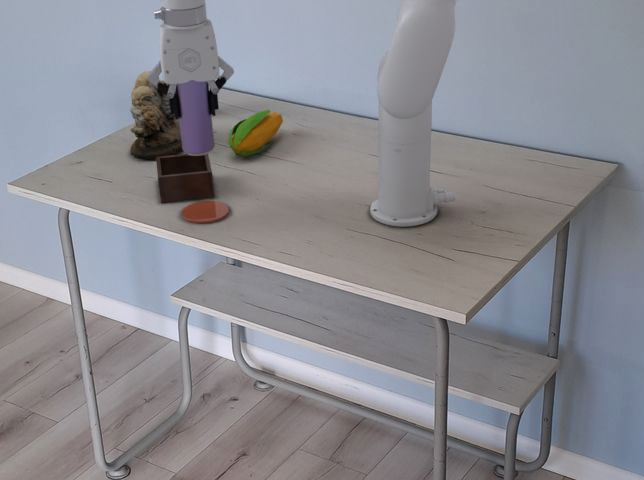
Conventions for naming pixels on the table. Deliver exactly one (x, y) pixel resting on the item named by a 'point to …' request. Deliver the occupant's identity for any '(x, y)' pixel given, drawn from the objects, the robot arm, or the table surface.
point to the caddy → (184, 177)
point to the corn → (254, 133)
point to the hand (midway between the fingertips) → (195, 114)
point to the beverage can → (195, 118)
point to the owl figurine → (153, 121)
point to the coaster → (205, 212)
